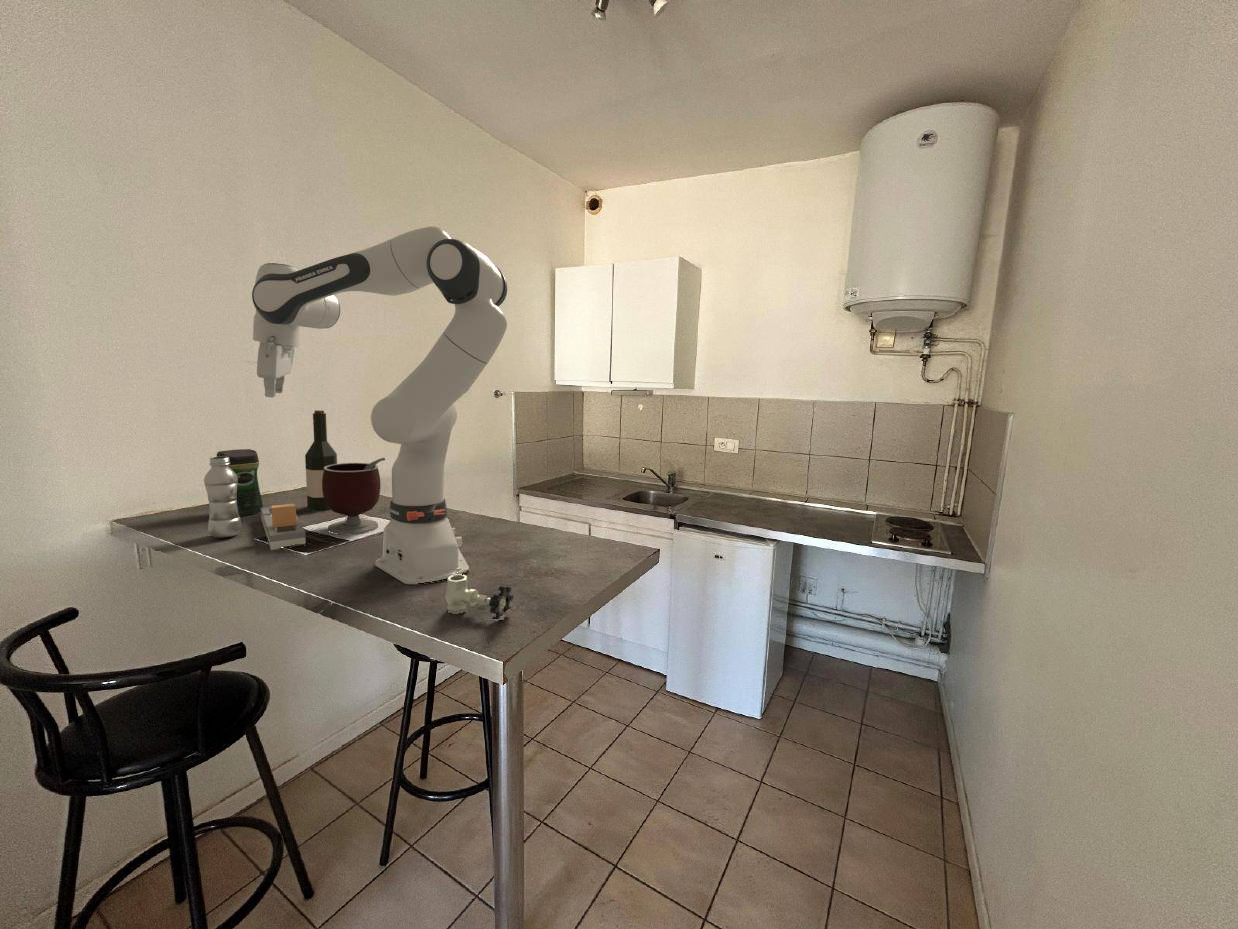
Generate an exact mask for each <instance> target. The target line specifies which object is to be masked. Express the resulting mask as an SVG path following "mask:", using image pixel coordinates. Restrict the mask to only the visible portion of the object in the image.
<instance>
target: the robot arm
mask: <svg viewBox="0 0 1238 929" xmlns="http://www.w3.org/2000/svg"><path fill="white" fill-rule="evenodd" d="M254 282H255V283H254V286H253V288H252V291H251V299H252V303H253V306H254V308H255V313H254V316H253V323H252V324H253V325H252V326H253V328H252V329H253V330H252V340H253V341H254V342H258V343H259V345H258V352H257V359H256V360H257V361H256V365H257V366H256V376H257V377H258V378H262V379H263V387H264V396H265V397H266V398H274V397H275V396H276V394H281V393H283V392H284V384H285V380H286V375H290V374H291V371H292V368H293V363H294V355H295V348H298V347H299V345H300V344H299V343H300V327H304V328H312V329H318V330H319V329H320V330H321V329H330V328H332V327H334V326H335V325H336V324H337V322H338V320H339V319H340V316H341V307H340V306H341V305H340V302H339V299H338V297H337V296H336V295H337V294H340V293H344V292H345V293H346V292H363V293H364V292H365V293H372V294H378V295H384V296H392V297H393V296H395V297H396V296H399V295H406V294H409V293H413V292H415V291H417V290H420V289H422V288H424V287H426V286H429V285H430V284H434V285H435V286H436V288H437V289H438V290H439V291H440V293H441V294H442V296H443V297H444V299H445V302H447V303H448V304H451V305H454V308H455V309H454V314H453V317H452V319H451V321H450V322H449V323H448V325H447V326H446V328H445V329H444V331H443V332H442V333H441V335H440V336H439V338H438V339H437V341H436V342H435V344H434V345H433V346H432V348H431V349H430V350H429V352H428V353H427V355H426V357H425V358H424V359H423V360H422V361H421V362H420V364H419V365H418V366H417V367H415V369H414V370H412V371H411V373H409V374H408V375H407V377H405V379H404V380H402V381H401V382H400V383H399V384H398V385H397V387H395V388H394V389H393V390H392V392H390V393H389V394H388V395H386V396H385V397H383V398H382V399H380V400H378V402H377V403H376V404H374V406H373V407H372V410H371V414H370V422H371V427H372V429H373V431H374V432H375V434H376V435H377V436H378V437H379V438H381V440H383V441H386V442H387V443H393V444H396V445H400V448H399V451H398V454H397V458H396V459H395V461H394V462H393V464H392V468H391V492H392V493H391V494H392V495H391V498H392V499H391V501H390V505H389V516H390V520H389V522H388V524H386V526H384V528H383V535H382V536H383V537H382V538H383V539H382V541H383V542H382V556H381V557H379V558H378V559H376V560H375V563H374V564H375V567H377V568H378V569H380V570H382V571H383V572H385V573H387V575H390V576H392V577H393V578H395V579H396V580H399V581H400V582H401V583H403V584H405V585H419V584H418V583H424V582H431V583H433V582H432V581H436V580H440V579H445V578H448V577H449V576H451V575H456V574H462V573H463V572H466V571H467V570H469V571H470V566H469V565H468V562H467V561H466V559H465V558H464V556H463V554H462V552H461V551H460V549H459V547H462V546H463V538H462V536H455V534H456V528H455V527H452V526H451V523H450V518H449V519H448V510H447V509H448V506H447V502H446V499H445V497H444V496H445V490H444V489H445V486H444V485H445V465H446V464H445V463H446V457H447V453H448V448H449V444H450V437H451V434H452V430H453V428H454V426H455V425H456V421H457V419H458V418H457V417H458V416H457V415H458V412H457V408H456V406H455V405H454V403H455V402H457V401H458V400H459V399H460V398H461V397H462V396H464V395H465V394H466V393H467V392H469V390H470V389H471V387H472V386H473V384H474V383H475V382H476V380H477V379H478V377H479V376H480V375H481V373H482V372H483V370H484V369H485V368H486V367H487V365H488V363H489V362H490V361H491V359H492V358H493V356H494V355H495V353H496V351H497V349H498V348H499V346H500V344H501V341H502V339H503V338H504V336H505V333H506V331H507V328H508V322H507V318H506V316H505V314H504V312H503V311H502V310H501V309H500V306H501V305H502V304H503V303H504V301H506V300H505V299H506V298H507V294H508V283H507V280H506V278H505V276H504V273H503V272H502V271H501V270H500V268H499V267H497V266H496V265H495V264H493V262H491V260H490V259H489V258H488V257H487V256H486V255H485V254H483V253H482V252H480V251H479V250H477V249H475V248H474V247H472V245H470V244H469V243H467V242H465V241H463V240H460V239H456V238H455V239H454V238H451V236H450V235H449V234H448V233H447V232H445V230H443V229H442V228H440V227H437V226H434V225H433V226H426V227H421V228H417V229H413V230H410V231H407V232H404V233H401V234H399V235H396V236H394V237H393V238H390V239H387V240H385V241H383V242H380V243H378V244H375V245H373V246H370V247H368V248H365V249H362V250H358V251H355V252H351V253H348V254H344V255H340V256H336V257H333V258H331V259H328V260H324V261H321V262H319V263H316V264H313V265H311V266H308V267H305V268H303V269H300V270H299V269H298V268H297V267H294V266H293V265H289V264H284V263H275V262H272V263H271V262H269V263H264V264H261V265H260V266H259V268H258V270H257V273H256V276H255V281H254ZM424 584H425V583H424Z"/></svg>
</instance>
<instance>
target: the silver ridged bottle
mask: <svg viewBox="0 0 1238 929" xmlns="http://www.w3.org/2000/svg"><path fill="white" fill-rule="evenodd" d="M229 465H230V462H229V457H225V456H220V457H217V456H212V457H210V458H209V466H210V467H211V468H209V470H208V471H207V472H206V474H205V475H204V478H203V483H204V487H205V490H206V494H207V499H208V505H209V508H208V509H209V510H208V511H209V514H208V515H209V516H208V523H207V531H208V533H209V535H210V536H211V537H213V538H220V539H221V538H230V537H234V536H237V535H238V534H240V532H241V531H242V527H243V524H242V520H241V516H239V513H238V508H237V500H236V498H237V482H238V478H237V475H236V474H235V473H234V471H233V470H232V469H231V468H229Z"/></svg>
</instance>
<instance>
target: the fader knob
mask: <svg viewBox="0 0 1238 929" xmlns="http://www.w3.org/2000/svg"><path fill="white" fill-rule="evenodd" d="M270 507H271V512H272V526H273V528H276V530H277V533H278V532H286V531H293V526H294V525H297V524H296V515H297V509H296V503H288V504H287V503H285V504H276V505H270Z"/></svg>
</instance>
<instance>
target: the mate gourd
mask: <svg viewBox="0 0 1238 929" xmlns="http://www.w3.org/2000/svg"><path fill="white" fill-rule="evenodd" d="M382 461H386V458H385V457H381V458H378V459H376V460H373V461H372V462H370V463H368V462H342V463H337V464H333V465H328V466H325V467H324V472H323V478H322V491H323V496H324V500H325V503H326V505H327V506H328V507H329V508H330V509H331V510H330V511H332V512H334V513H337V514H339V515H342V516H343V515H344V516H346V519H345V520H341V521H336V522H334V523H331V524H329V525H328V526H327V532H328V531H330V532H333V533H338V534H355V535H361V534H360V533H362V534H366V533H365V532H367V533H370V532H369V531H371V532H373V531H375V530H377V529H378V528H379V523H378V522H377V521H375V520H371V519H363V518H360V516H359V515H363V514H364V513H367V512H369V511H371V510H373V509H374V507H375V506H376V505H377V503H378V502H379V499H380V496H381V494H380V493H381V487H382V486H381V475H380V470H379V466H378V465H377V464H379V463H380V462H382Z"/></svg>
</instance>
